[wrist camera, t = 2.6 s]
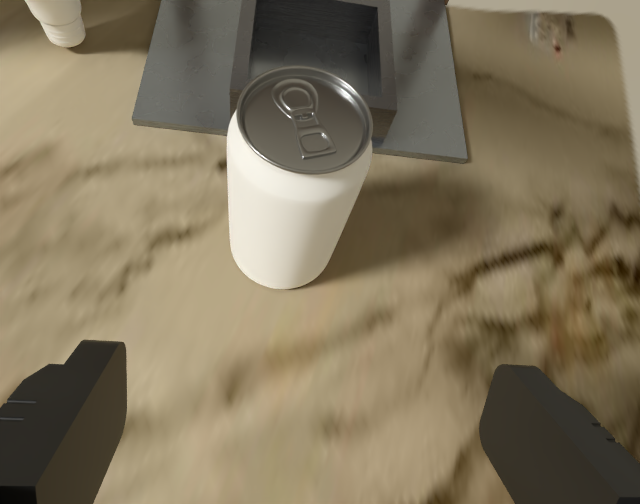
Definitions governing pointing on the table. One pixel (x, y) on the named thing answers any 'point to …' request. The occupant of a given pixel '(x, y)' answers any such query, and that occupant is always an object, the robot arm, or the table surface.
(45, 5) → the lightbulb
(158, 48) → the socket
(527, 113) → the table surface
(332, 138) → the can
